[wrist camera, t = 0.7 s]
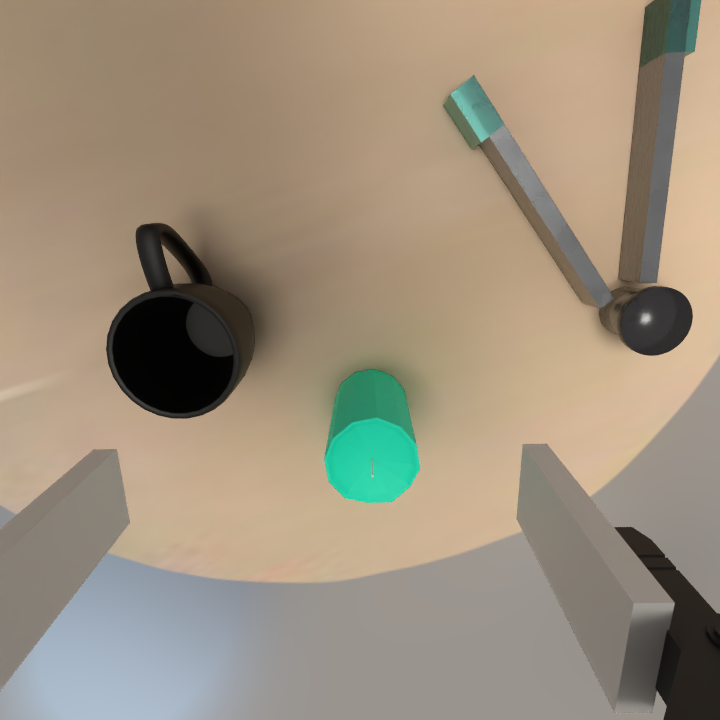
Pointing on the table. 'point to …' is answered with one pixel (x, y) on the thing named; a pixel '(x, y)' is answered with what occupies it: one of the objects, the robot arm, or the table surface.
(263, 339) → the table surface
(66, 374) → the table surface
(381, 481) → the candle
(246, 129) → the table surface
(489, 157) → the bar
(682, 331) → the tongs fixed
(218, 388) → the mug
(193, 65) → the table surface
